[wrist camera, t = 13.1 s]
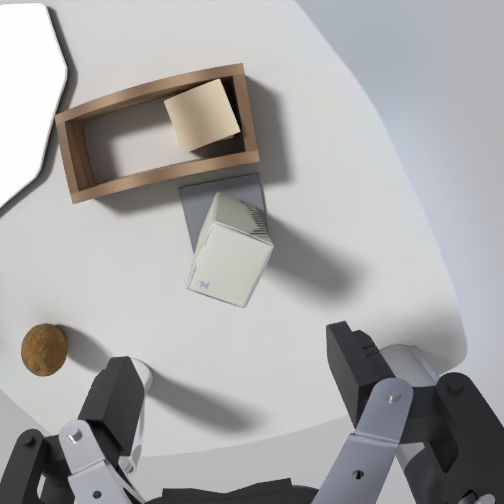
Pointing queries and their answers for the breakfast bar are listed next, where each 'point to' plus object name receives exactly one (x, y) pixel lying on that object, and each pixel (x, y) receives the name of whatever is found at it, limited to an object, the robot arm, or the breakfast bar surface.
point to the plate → (27, 92)
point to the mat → (203, 194)
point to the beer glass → (131, 462)
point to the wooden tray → (73, 118)
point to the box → (230, 252)
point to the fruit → (44, 349)
